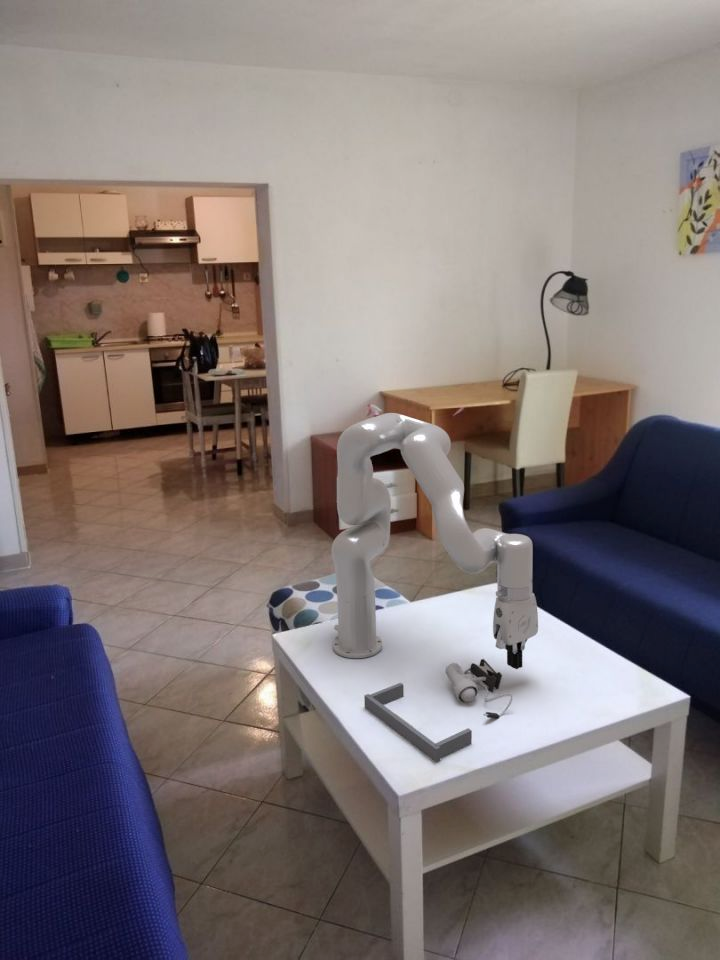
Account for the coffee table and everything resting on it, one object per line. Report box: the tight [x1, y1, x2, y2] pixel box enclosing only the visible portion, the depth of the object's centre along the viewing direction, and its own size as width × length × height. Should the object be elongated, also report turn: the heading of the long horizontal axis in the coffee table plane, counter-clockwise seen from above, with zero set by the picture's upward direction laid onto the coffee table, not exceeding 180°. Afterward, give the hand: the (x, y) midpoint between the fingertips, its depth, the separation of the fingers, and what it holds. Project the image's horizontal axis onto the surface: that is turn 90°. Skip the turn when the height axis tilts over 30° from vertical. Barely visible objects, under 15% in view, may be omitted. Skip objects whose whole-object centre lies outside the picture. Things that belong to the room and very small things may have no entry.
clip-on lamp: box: [445, 658, 513, 719], centre depth 160 cm, size 12×6×18 cm
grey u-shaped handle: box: [363, 682, 473, 764], centre depth 151 cm, size 24×10×3 cm, turn 34°
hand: (514, 665), depth 165 cm, fingers closed
